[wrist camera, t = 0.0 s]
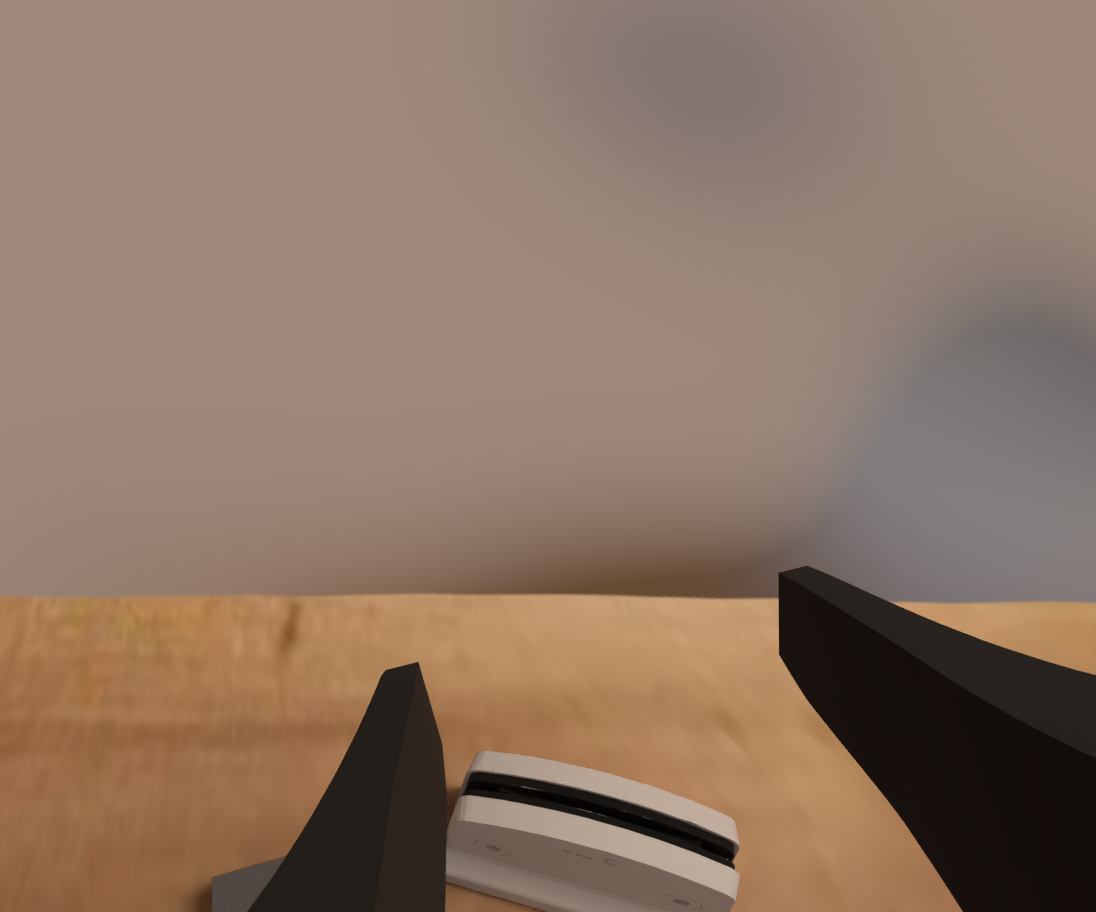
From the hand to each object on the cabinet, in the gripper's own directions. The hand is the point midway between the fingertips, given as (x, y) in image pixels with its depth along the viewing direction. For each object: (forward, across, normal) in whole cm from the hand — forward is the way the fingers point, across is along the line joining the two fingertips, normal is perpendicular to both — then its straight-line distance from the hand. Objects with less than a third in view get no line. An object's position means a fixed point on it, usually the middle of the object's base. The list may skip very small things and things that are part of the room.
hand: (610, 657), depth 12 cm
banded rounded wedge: (+17, 0, +28) cm, 33 cm away
